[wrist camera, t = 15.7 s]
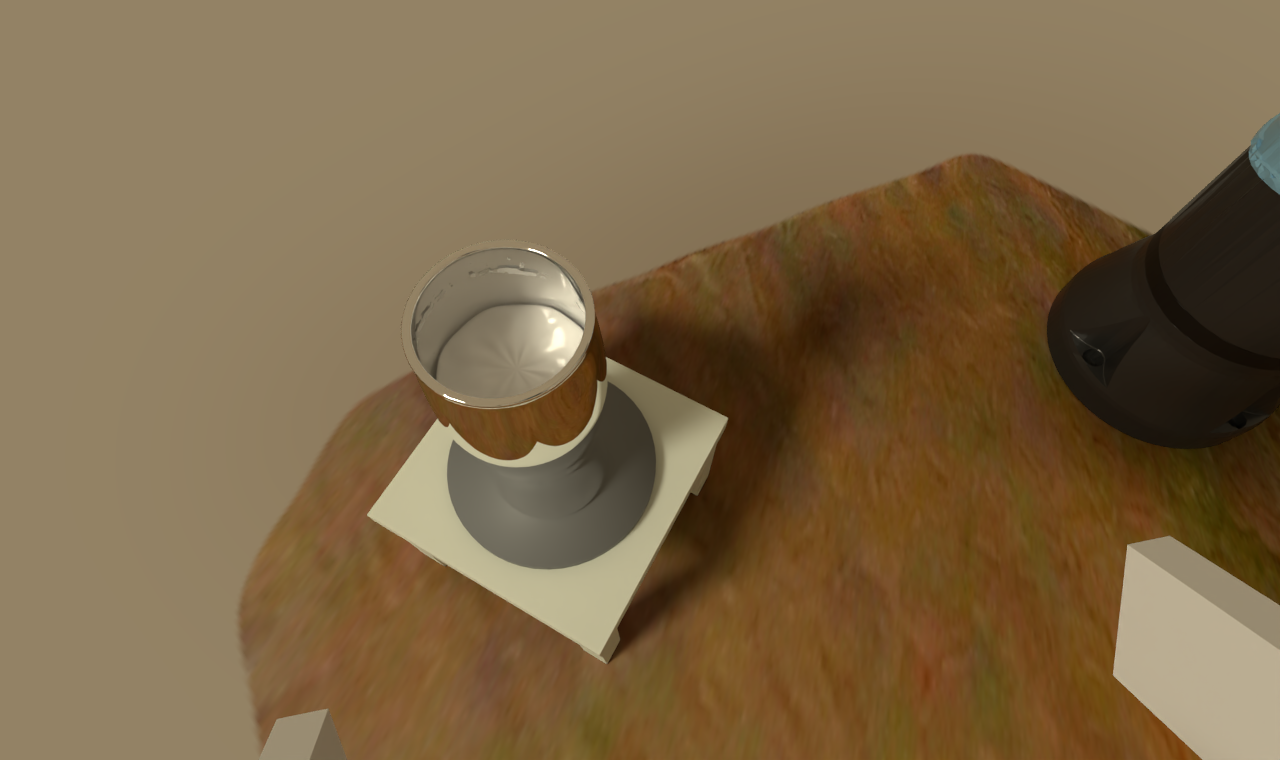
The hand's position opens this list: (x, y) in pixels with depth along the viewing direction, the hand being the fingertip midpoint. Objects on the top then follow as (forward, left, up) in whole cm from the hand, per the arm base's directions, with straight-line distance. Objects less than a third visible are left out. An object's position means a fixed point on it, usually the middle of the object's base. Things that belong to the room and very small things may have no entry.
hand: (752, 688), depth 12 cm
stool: (+11, -7, -34) cm, 36 cm away
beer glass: (+11, -7, -23) cm, 27 cm away
